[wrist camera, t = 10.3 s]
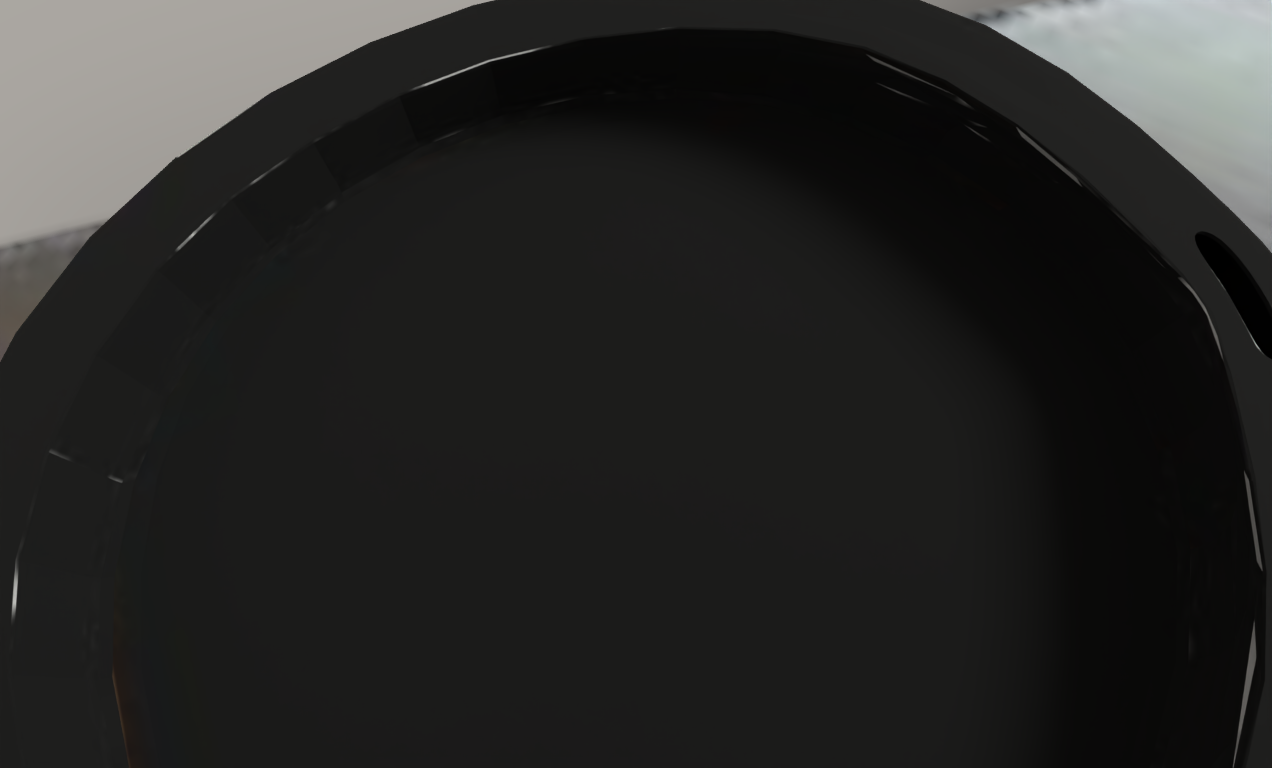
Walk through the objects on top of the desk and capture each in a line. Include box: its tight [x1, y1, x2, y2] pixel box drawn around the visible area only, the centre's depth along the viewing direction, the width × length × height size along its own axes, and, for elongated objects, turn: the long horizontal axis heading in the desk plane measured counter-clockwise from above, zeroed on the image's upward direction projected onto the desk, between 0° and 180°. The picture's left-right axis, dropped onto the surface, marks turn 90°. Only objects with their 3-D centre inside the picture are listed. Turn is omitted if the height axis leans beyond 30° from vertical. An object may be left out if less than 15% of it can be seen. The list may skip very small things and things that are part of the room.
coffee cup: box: [0, 0, 1272, 768], centre depth 11 cm, size 8×8×15 cm
